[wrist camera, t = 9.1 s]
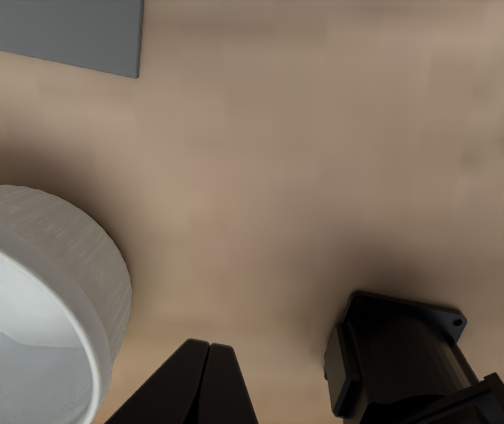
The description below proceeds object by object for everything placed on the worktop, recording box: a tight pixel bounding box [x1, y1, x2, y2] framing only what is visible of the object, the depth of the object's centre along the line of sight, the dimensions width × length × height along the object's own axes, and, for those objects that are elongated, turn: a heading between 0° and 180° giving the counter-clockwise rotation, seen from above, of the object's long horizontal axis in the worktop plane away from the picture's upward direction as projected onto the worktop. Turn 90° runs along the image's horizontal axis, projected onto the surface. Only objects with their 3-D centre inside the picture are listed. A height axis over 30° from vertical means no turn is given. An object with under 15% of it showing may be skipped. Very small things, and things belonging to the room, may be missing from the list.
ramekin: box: [0, 184, 132, 424], centre depth 20 cm, size 13×13×7 cm
